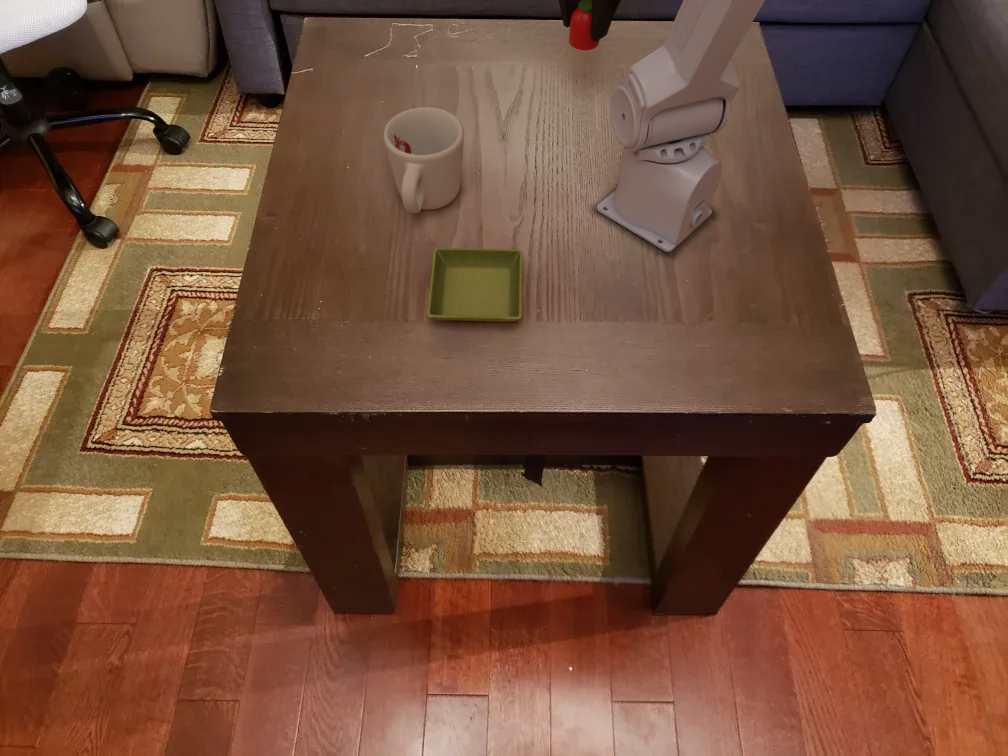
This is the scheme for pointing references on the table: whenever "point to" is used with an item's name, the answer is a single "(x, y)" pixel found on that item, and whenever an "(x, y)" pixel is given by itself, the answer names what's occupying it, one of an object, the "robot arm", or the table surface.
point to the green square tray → (476, 284)
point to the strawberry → (582, 27)
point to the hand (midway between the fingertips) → (585, 30)
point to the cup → (425, 156)
